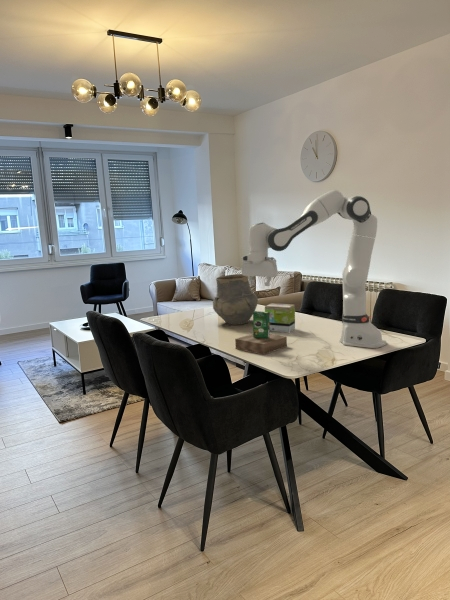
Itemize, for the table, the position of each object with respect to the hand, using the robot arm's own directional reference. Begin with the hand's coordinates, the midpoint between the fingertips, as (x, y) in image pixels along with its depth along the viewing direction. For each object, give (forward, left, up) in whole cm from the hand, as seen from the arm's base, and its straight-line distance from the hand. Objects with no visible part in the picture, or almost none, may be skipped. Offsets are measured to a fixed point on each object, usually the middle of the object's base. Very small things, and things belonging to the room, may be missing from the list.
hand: (259, 285), depth 222 cm
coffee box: (0, 0, -26) cm, 26 cm away
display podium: (0, +1, -31) cm, 31 cm away
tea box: (+16, -35, -31) cm, 50 cm away
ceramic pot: (+52, -36, -31) cm, 71 cm away
